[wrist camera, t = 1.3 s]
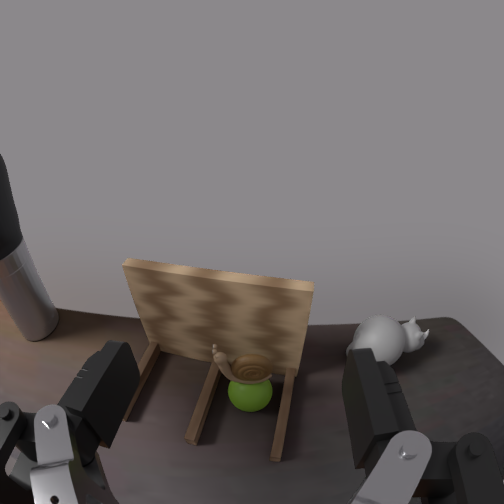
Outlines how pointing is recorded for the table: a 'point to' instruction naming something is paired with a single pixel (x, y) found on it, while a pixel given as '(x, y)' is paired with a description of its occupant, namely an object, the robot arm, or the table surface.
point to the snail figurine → (247, 379)
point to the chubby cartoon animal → (388, 337)
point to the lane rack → (220, 326)
